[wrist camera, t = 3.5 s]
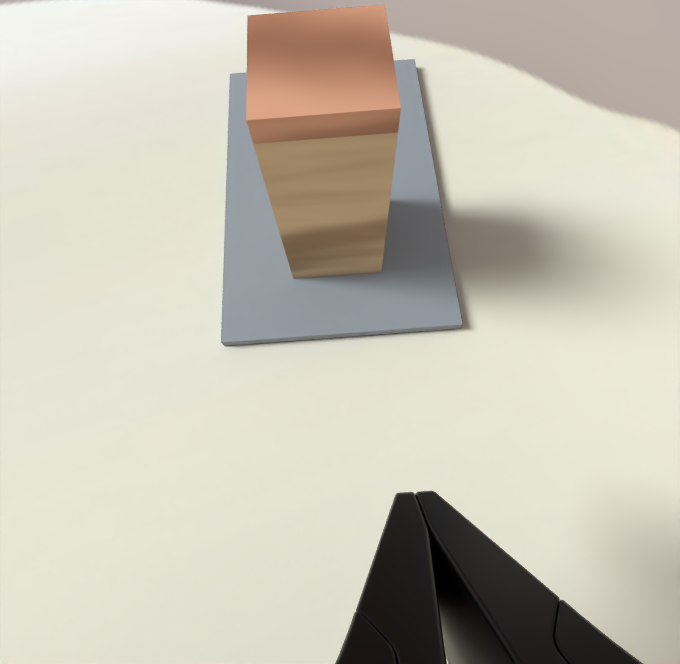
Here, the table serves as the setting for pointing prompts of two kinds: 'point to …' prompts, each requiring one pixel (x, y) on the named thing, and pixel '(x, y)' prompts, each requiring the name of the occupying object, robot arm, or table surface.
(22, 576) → the table surface
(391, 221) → the mat
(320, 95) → the oak block
